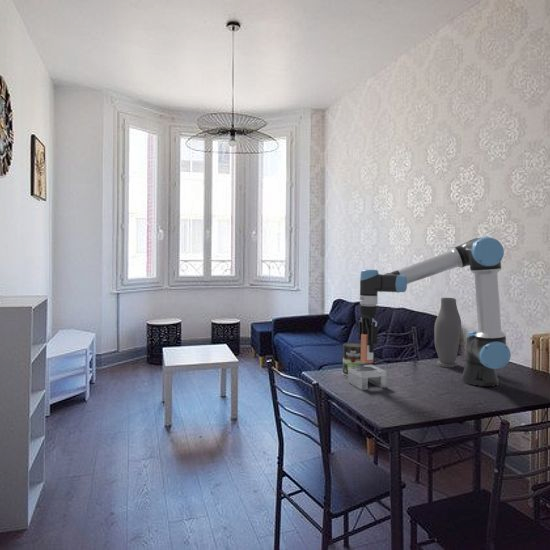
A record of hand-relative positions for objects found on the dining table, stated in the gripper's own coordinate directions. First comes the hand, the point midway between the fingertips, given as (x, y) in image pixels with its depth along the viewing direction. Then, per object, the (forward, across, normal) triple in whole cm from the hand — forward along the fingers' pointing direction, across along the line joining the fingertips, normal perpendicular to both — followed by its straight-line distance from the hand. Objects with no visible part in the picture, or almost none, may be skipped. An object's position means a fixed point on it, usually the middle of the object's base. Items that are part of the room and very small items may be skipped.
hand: (367, 358), depth 192 cm
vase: (+12, -17, +58) cm, 62 cm away
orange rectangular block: (+2, 0, 0) cm, 2 cm away
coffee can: (+12, -17, +3) cm, 21 cm away
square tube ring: (+12, 0, 0) cm, 12 cm away
